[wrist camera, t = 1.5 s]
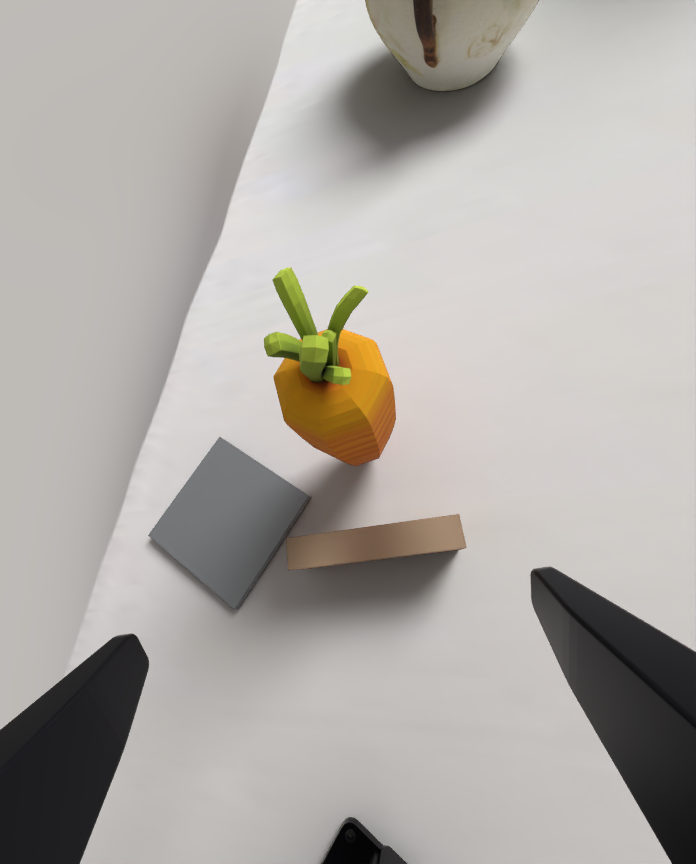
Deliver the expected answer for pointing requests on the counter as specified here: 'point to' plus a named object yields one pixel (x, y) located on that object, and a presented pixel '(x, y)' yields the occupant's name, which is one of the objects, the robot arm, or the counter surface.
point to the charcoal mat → (229, 521)
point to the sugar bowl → (448, 36)
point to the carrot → (331, 379)
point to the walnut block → (376, 543)
